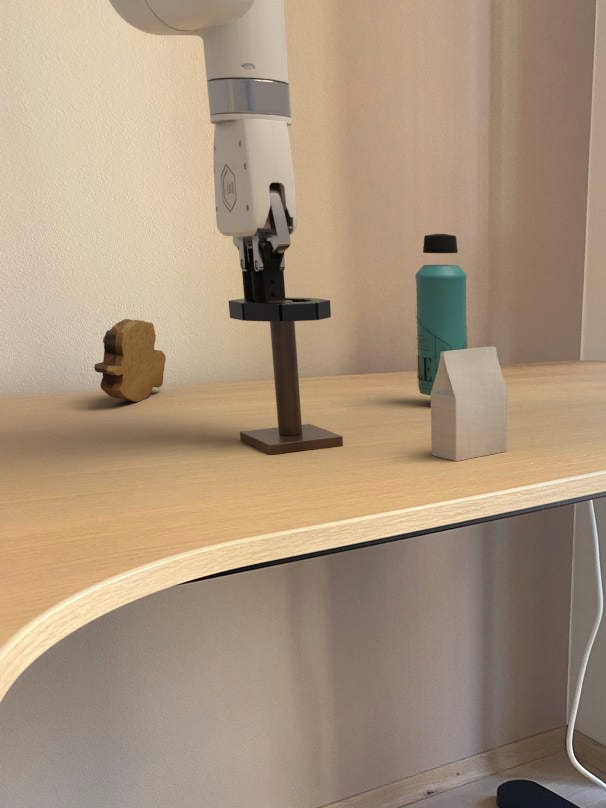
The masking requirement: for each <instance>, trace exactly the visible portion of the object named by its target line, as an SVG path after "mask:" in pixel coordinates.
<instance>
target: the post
mask: <svg viewBox="0 0 606 808" xmlns="http://www.w3.org/2000/svg"><path fill="white" fill-rule="evenodd" d="M268 302H269V303H288V302H293V301H291V300H272V301H268ZM295 322H296V321H289V322H282V321H281V322H269V328H270V342H271V353H272V364H273V378H274V390H275V403H276V404H275V406H276V415H277V416H276V417H277V418H276V419H277V427H268V428H258V429H249V430H241V431H239V438H240V439H239V440H240V442H242V443H244V444H247V445H249V446H251V447H253V448H255V449H257V450H259V451H261V452H263V453H266V454H268V455H270V456H273V455H279V454H287V453H288V454H289V453H294V452H303V451H311V450H319V449H326V448H327V449H328V448H337V447H343V446H344V440H343V439H344V438H343V435H341V434H337V433H335V432H333V431H330V430H327V429H324V428H322V427H319V426H317V425H314V424H312V423H306V424H305V423H303V424H302V408H301V396H300V394H301V393H300V380H299V367H298V366H299V364H298V352H297V351H298V350H297V337H296V336H297V335H296V325H295V324H296V323H295Z"/></svg>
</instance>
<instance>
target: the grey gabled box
mask: <svg viewBox="0 0 606 808" xmlns="http://www.w3.org/2000/svg"><path fill="white" fill-rule="evenodd" d="M430 432H431V434H430V435H431V436H430V438H431V439H430V441H431V444H430V445H431V456H434V457H439V458H442V459H446V460H450V461H453V462H459V461H466V460H469V459H475V458H479V457H484V456H490V455H494V454H500V453H505V452H507V451H508V450H507V449H508V443H507V442H508V388H507V385H506V382H505V379H504V375H503V372H502V369H501V365H500V361H499V358H498V352H497V347H496V346H493V345H492V346H483V347H474V348H473V347H472V348H467V349H462V350H453V351H443V352H441V355H440V362H439V366H438V371H437V374H436V377H435V381H434V384H433V388H432V391H431V395H430Z"/></svg>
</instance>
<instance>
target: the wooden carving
mask: <svg viewBox="0 0 606 808" xmlns="http://www.w3.org/2000/svg"><path fill="white" fill-rule="evenodd" d="M156 338H157V337H156V331H155V325H154V323H153V322H149V321H145V320H141V319H129V318H124V319H122V320H120V321H118V322H116V323H115V324H114V325H112V327H111V328H110V329H108V330H106V332H105V335H103V338H102V343H103V360H102V362H98V363H95V364H94V366H93V369H94V371H95V372H96V373H99V374H102V377H101V378H102V379H101V381H100V389H101V390H102V391H103V392H104V393H105V394H107V395H108V397H112V398H115V399H120V400H121V399H122V400H124V401H128V402H134V403H139V402H142V401H143V400H146V399H147V397H148V396H149V395H150V394H151V392H152V391H153V389H154V388H157V389H159V388H161V387H162V386H163V385H164V384H163V383H164V373H165V367H166V366H165V364H166V360H167V359H166V357H167V356H166V354H165V353H164V351H162V350H159V349H155V343H156V341H157V340H156Z"/></svg>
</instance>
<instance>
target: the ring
mask: <svg viewBox="0 0 606 808" xmlns="http://www.w3.org/2000/svg"><path fill="white" fill-rule="evenodd" d="M285 299H286V300H291V301H293V302H288V303H269V302H254V299H253V298H244V297H243V298H238V299H230V300H228V311H229V318H230V319H233V320H236V321H237V320H238V321H241V322H242V321H243V322H268V323H270V322H281V321H282V322H289V321H295V322H309V321H310V322H311V321H320V320H325V319H329V318H330V319H331V317H332V310H331V308H332V307H331V300H330V299H324V298H317V297H290V296H289V297H288V296H287V297H286V296H285Z"/></svg>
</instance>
